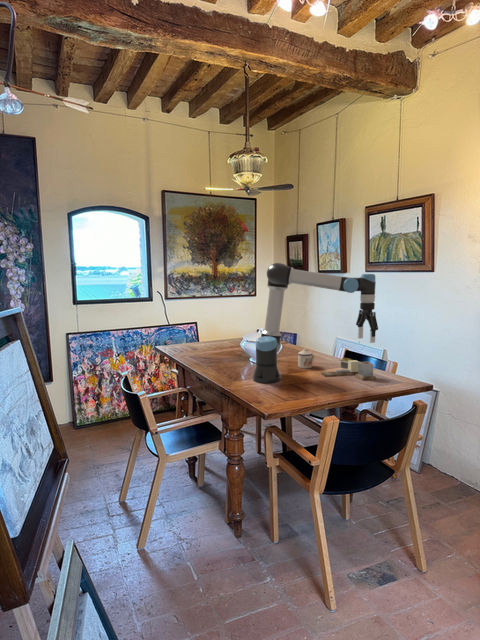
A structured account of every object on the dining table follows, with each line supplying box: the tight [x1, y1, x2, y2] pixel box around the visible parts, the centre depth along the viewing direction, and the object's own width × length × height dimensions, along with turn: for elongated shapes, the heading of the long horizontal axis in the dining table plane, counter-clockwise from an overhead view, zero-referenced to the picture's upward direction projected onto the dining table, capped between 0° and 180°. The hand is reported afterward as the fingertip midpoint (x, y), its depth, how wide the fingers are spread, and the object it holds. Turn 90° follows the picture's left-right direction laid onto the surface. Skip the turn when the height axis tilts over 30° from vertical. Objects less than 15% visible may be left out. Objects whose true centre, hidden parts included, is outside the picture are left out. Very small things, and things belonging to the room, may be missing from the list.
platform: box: [338, 357, 353, 370], centre depth 239 cm, size 12×18×7 cm, turn 43°
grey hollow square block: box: [358, 361, 374, 377], centre depth 217 cm, size 6×6×7 cm
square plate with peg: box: [354, 363, 377, 381], centre depth 217 cm, size 8×8×8 cm
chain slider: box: [335, 359, 360, 372], centre depth 226 cm, size 13×4×6 cm, turn 100°
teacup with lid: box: [297, 348, 315, 369], centre depth 244 cm, size 12×9×12 cm
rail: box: [320, 371, 358, 378], centre depth 226 cm, size 26×6×2 cm, turn 100°
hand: (366, 340), depth 215 cm, fingers open, 13 cm apart
